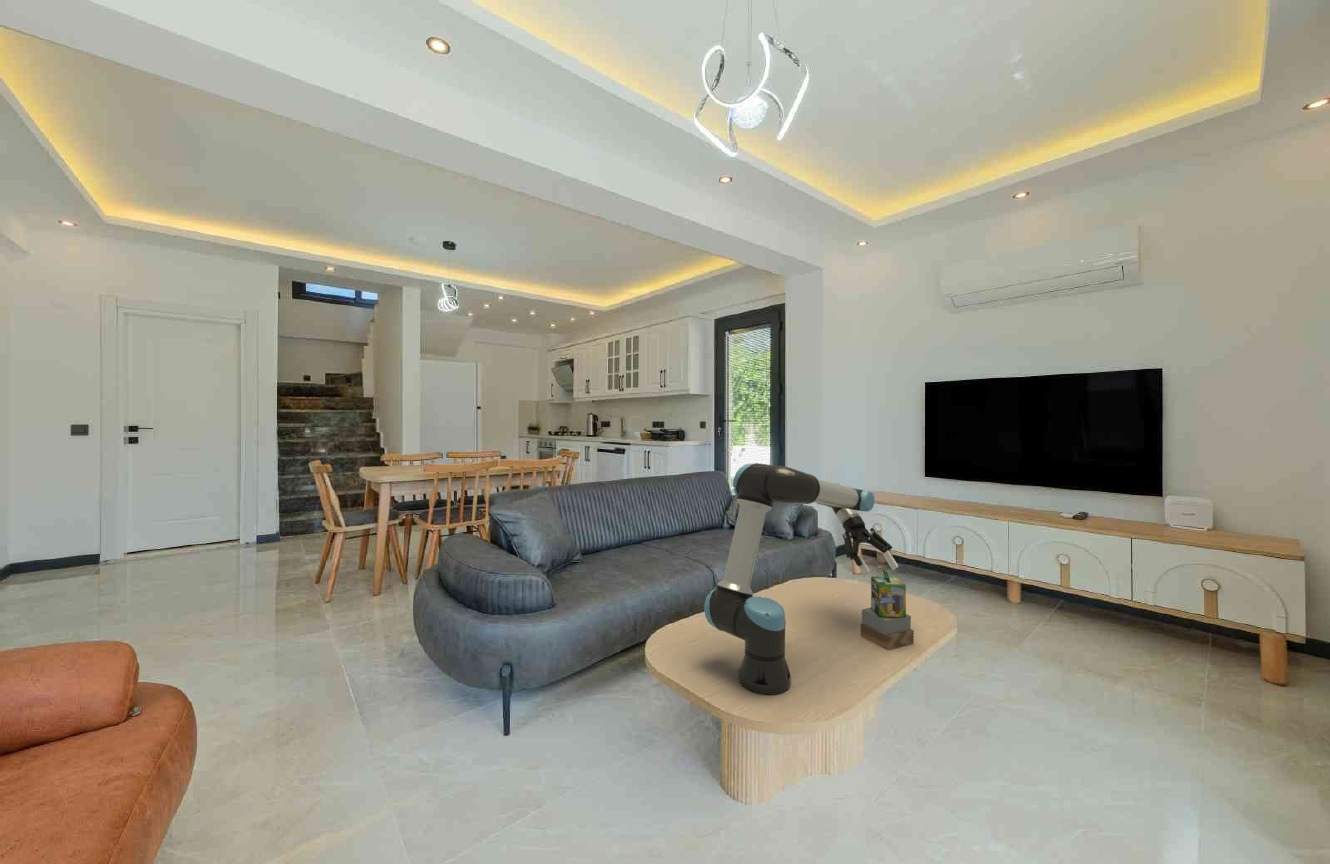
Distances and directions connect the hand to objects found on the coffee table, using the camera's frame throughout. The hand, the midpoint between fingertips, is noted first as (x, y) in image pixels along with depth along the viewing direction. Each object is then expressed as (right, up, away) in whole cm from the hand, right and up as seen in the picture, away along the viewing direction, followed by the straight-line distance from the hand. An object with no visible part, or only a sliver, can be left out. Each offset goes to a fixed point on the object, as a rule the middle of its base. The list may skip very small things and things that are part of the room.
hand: (881, 570), depth 184 cm
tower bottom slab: (+1, -24, -2) cm, 24 cm away
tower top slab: (+1, -19, -2) cm, 19 cm away
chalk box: (+1, -14, -3) cm, 14 cm away
